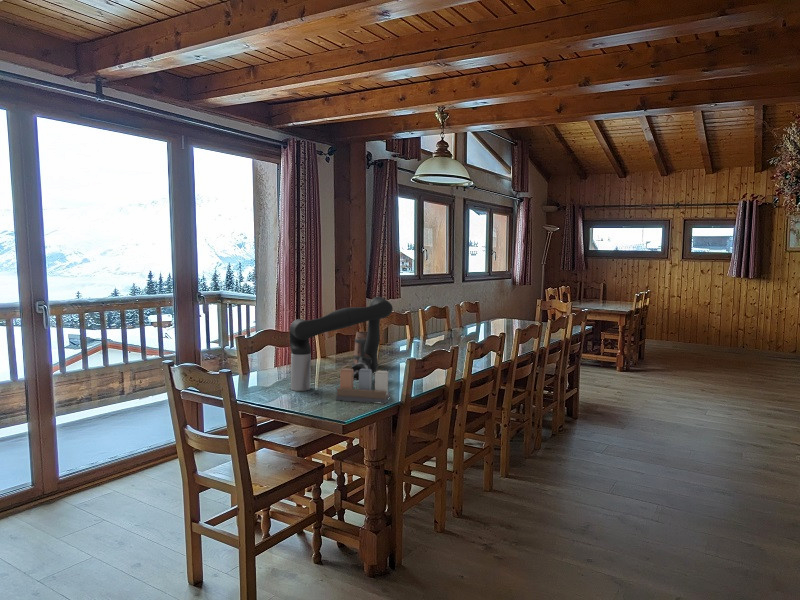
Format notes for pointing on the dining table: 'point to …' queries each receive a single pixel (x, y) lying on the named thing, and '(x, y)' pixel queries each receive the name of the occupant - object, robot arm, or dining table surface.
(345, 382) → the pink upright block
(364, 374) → the blue-grey key
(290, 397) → the dining table surface
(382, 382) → the cream key
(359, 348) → the tankard
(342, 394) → the key bed
